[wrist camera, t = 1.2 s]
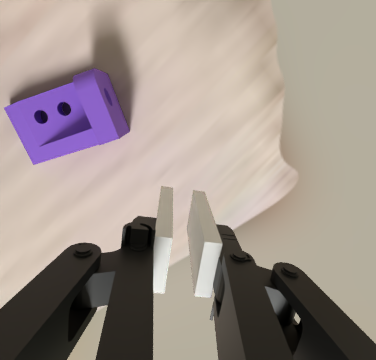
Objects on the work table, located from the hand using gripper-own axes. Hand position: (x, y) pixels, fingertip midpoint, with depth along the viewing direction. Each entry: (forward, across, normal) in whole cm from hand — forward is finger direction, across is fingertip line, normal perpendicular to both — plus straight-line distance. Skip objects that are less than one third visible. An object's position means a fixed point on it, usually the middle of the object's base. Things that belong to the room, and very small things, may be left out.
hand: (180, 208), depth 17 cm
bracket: (+17, -13, +3) cm, 22 cm away
